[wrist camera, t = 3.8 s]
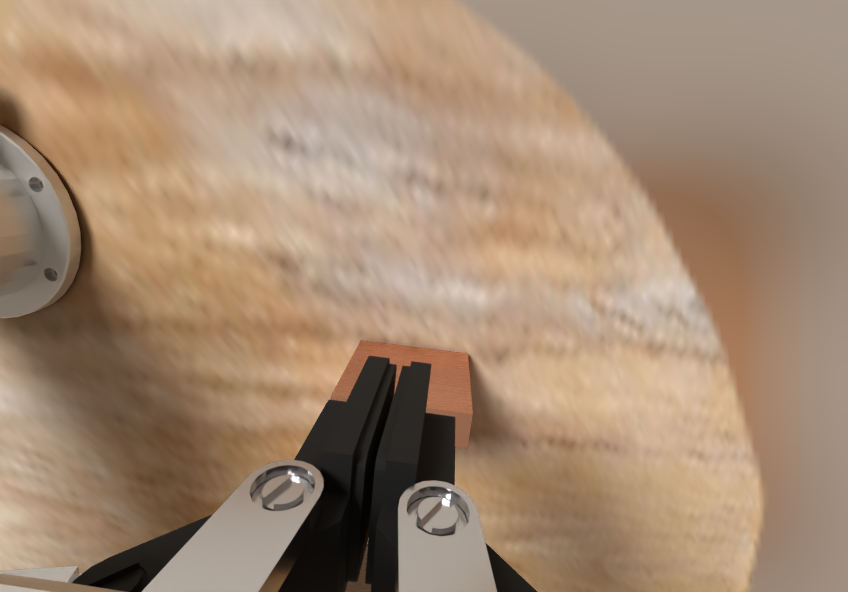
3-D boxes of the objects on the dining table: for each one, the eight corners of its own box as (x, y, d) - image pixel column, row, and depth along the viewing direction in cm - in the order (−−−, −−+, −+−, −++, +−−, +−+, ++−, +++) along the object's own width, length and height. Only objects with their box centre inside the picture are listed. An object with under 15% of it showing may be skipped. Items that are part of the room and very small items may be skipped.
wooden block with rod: (353, 339, 27) (321, 394, 21) (475, 354, 27) (483, 415, 20) (340, 553, 33) (311, 652, 26) (442, 568, 32) (439, 672, 26)
